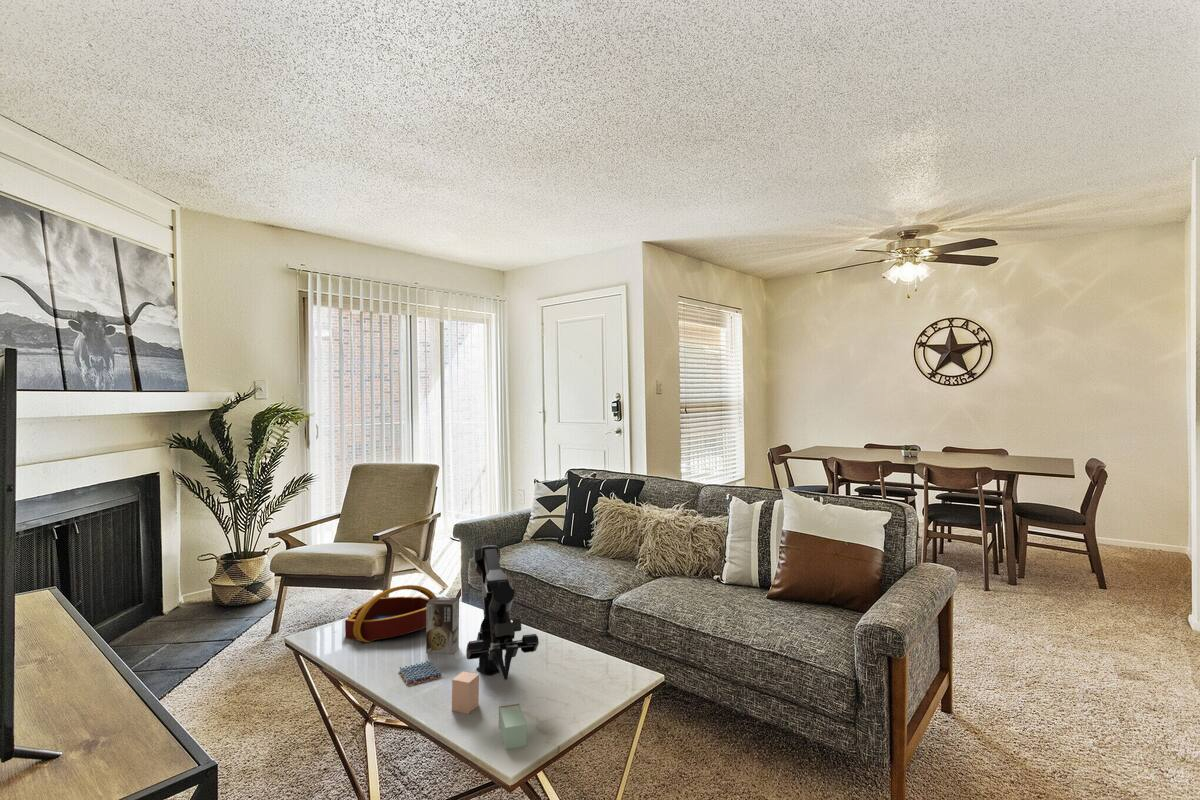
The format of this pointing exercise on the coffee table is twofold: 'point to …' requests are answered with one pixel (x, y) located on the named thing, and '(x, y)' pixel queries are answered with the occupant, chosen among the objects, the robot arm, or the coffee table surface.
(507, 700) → the coffee table surface
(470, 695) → the terracotta block
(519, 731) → the sage block
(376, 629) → the decorative basket
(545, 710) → the coffee table surface
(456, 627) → the coffee box
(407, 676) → the woven mat
